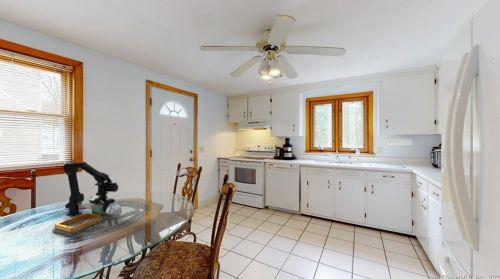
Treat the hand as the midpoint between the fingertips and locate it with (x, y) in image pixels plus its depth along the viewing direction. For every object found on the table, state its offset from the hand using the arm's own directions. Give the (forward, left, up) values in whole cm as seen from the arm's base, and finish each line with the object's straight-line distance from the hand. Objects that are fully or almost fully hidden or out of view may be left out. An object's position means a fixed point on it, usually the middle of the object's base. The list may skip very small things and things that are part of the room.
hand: (101, 211), depth 152 cm
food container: (0, 0, -4) cm, 4 cm away
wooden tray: (+4, -18, -4) cm, 19 cm away
